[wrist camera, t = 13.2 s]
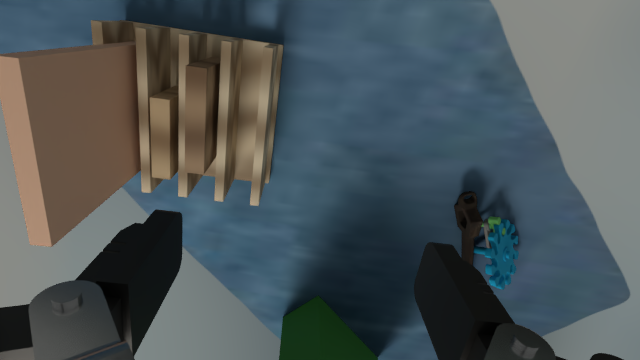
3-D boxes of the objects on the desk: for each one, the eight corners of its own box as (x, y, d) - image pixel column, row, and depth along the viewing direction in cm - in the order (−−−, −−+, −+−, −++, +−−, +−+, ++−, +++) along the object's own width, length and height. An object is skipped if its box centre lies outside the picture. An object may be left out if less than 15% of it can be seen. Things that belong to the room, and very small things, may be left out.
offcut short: (175, 85, 46) (149, 97, 38) (192, 87, 46) (169, 100, 38) (175, 154, 49) (152, 177, 42) (191, 156, 49) (170, 179, 42)
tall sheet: (140, 40, 43) (-9, 55, 23) (154, 42, 44) (18, 58, 23) (146, 153, 49) (30, 244, 29) (158, 154, 49) (51, 246, 29)
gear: (525, 268, 57) (501, 304, 51) (487, 261, 62) (460, 294, 55) (517, 202, 55) (490, 232, 48) (477, 200, 59) (447, 227, 53)
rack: (125, 20, 44) (85, 19, 36) (283, 44, 45) (278, 49, 38) (132, 161, 51) (100, 186, 43) (269, 179, 52) (262, 206, 44)
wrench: (429, 332, 67) (435, 187, 53) (456, 328, 67) (469, 182, 53) (439, 357, 62) (450, 205, 49) (469, 353, 62) (487, 200, 49)
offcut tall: (211, 56, 44) (185, 65, 35) (228, 59, 45) (206, 68, 35) (208, 144, 49) (184, 172, 39) (223, 146, 49) (203, 174, 39)
